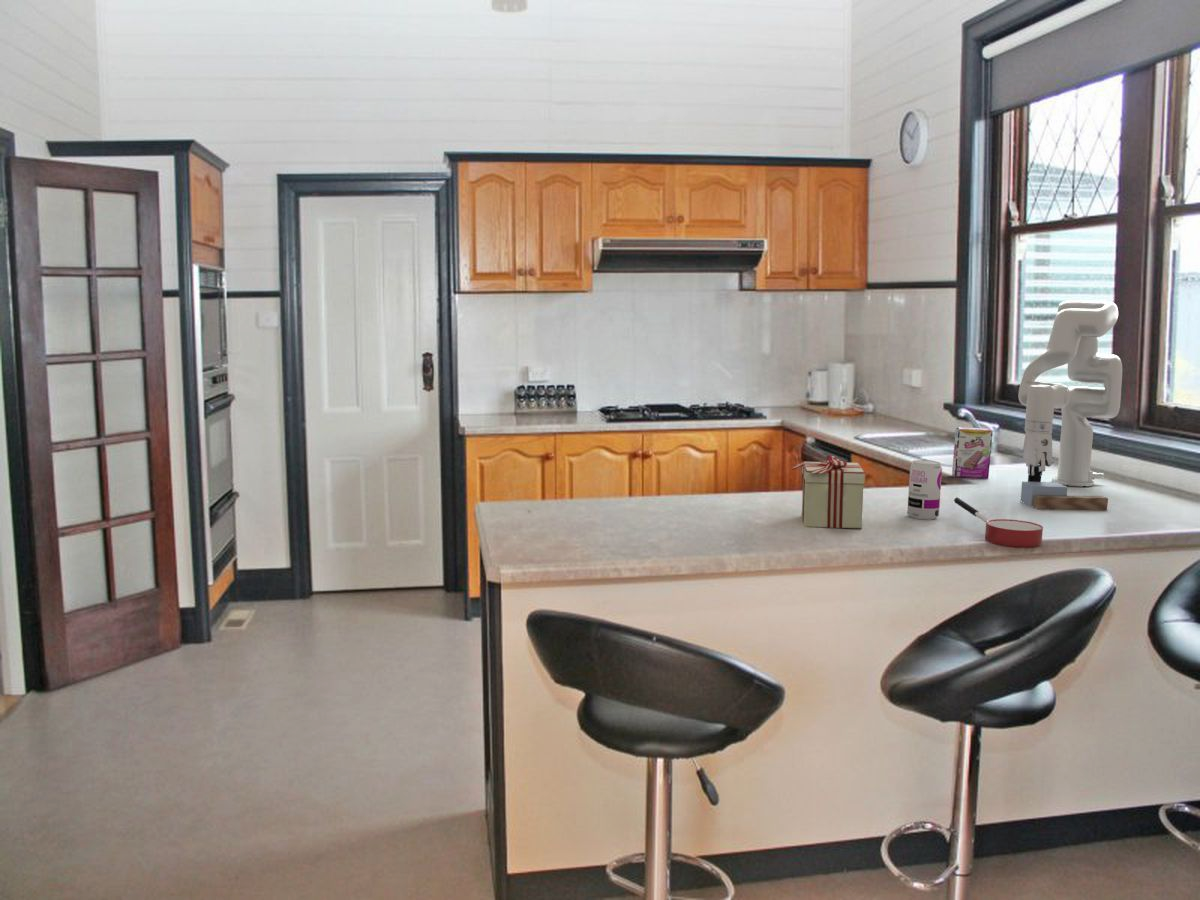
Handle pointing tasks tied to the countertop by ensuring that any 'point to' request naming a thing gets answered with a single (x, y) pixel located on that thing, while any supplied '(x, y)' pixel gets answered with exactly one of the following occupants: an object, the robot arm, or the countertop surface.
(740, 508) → the countertop surface
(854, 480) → the gift box
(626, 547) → the countertop surface
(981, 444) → the candy bar box
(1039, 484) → the block
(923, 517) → the supplement can
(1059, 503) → the board
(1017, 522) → the frying pan
